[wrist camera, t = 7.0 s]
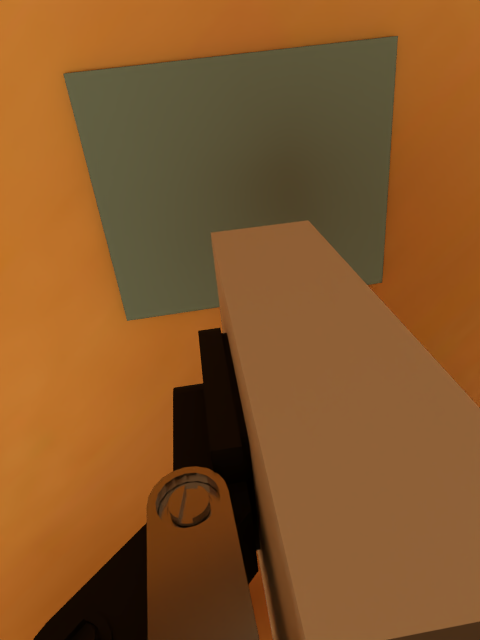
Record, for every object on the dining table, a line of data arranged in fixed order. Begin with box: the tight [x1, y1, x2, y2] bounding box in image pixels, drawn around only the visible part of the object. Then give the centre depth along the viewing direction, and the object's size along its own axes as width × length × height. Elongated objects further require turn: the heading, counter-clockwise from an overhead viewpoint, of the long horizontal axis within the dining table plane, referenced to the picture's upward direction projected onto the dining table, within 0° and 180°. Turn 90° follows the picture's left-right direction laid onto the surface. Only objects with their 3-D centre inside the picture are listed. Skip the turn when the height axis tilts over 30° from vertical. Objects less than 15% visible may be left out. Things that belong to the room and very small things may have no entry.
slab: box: [211, 220, 480, 640], centre depth 9 cm, size 6×3×10 cm, turn 5°
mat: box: [64, 36, 398, 321], centre depth 26 cm, size 14×17×1 cm
